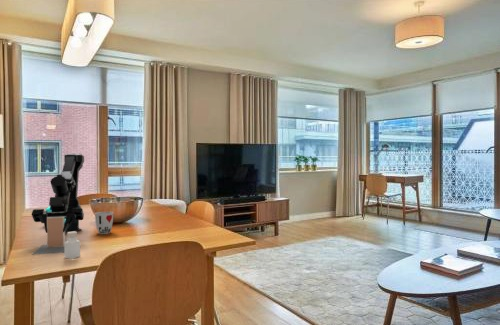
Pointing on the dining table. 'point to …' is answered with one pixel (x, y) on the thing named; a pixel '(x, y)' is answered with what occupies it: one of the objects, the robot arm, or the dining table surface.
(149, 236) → the dining table surface
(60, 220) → the block
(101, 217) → the cup
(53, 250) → the mat
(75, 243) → the pepper shaker
